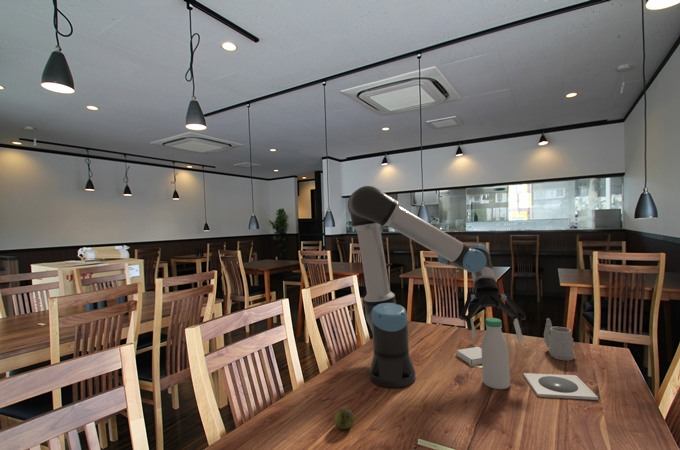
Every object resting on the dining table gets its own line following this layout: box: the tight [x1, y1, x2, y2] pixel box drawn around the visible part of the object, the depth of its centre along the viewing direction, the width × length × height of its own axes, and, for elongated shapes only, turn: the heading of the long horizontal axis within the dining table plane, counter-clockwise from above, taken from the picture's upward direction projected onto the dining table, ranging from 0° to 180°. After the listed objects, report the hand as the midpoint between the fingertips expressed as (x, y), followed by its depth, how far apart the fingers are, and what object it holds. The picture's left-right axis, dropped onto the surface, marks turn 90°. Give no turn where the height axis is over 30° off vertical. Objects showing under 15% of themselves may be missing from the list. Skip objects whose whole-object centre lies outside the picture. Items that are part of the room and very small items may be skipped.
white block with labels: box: [455, 344, 482, 366], centre depth 124 cm, size 20×12×3 cm, turn 13°
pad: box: [523, 372, 599, 401], centre depth 101 cm, size 15×13×1 cm
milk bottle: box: [481, 317, 511, 390], centre depth 104 cm, size 8×8×20 cm
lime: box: [334, 408, 355, 430], centre depth 86 cm, size 4×5×5 cm
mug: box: [543, 317, 576, 362], centre depth 123 cm, size 8×12×12 cm, turn 8°
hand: (497, 339), depth 107 cm, fingers open, 13 cm apart
